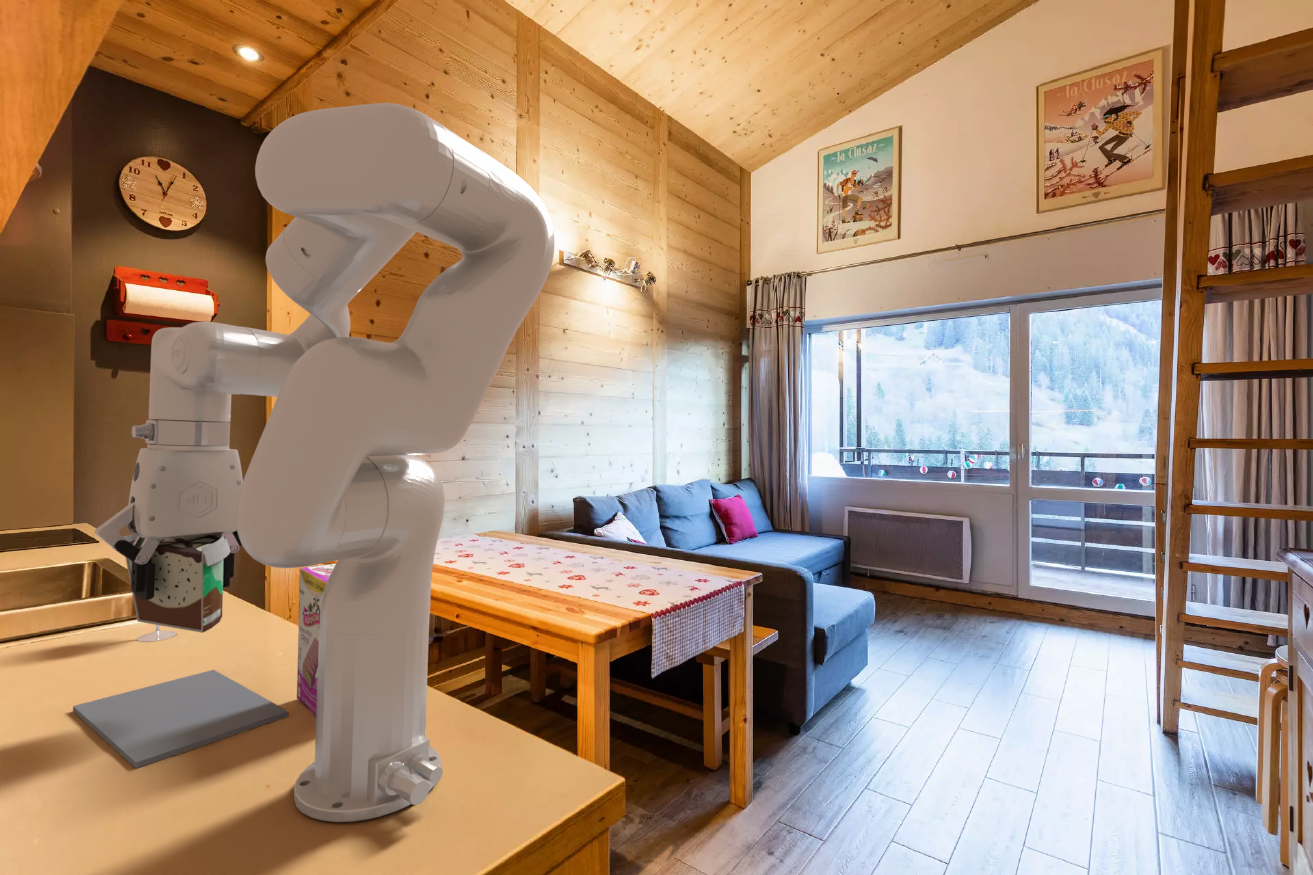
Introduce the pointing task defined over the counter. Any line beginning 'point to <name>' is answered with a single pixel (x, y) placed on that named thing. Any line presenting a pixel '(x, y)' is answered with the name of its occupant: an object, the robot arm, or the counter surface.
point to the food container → (185, 583)
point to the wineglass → (156, 635)
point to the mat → (176, 716)
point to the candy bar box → (310, 631)
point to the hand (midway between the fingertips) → (184, 589)
